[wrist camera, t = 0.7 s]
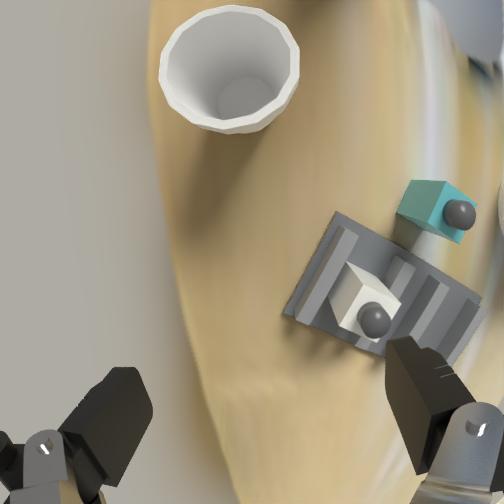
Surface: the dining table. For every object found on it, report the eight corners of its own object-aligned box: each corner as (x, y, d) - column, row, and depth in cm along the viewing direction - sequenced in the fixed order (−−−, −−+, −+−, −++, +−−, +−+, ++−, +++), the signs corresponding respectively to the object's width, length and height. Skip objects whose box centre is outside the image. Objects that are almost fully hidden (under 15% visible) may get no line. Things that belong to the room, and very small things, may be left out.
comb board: (336, 211, 32) (343, 215, 29) (478, 294, 33) (494, 306, 29) (283, 309, 35) (284, 325, 31) (429, 372, 36) (440, 389, 32)
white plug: (344, 260, 33) (369, 292, 23) (376, 276, 33) (409, 313, 23) (326, 293, 33) (342, 336, 24) (357, 308, 34) (382, 354, 24)
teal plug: (411, 179, 31) (457, 181, 21) (438, 198, 31) (489, 206, 21) (396, 212, 32) (437, 226, 22) (424, 229, 32) (470, 248, 22)
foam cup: (265, 164, 32) (256, 154, 19) (187, 126, 32) (135, 98, 19) (308, 86, 30) (323, 35, 17) (229, 51, 30) (202, -10, 17)
